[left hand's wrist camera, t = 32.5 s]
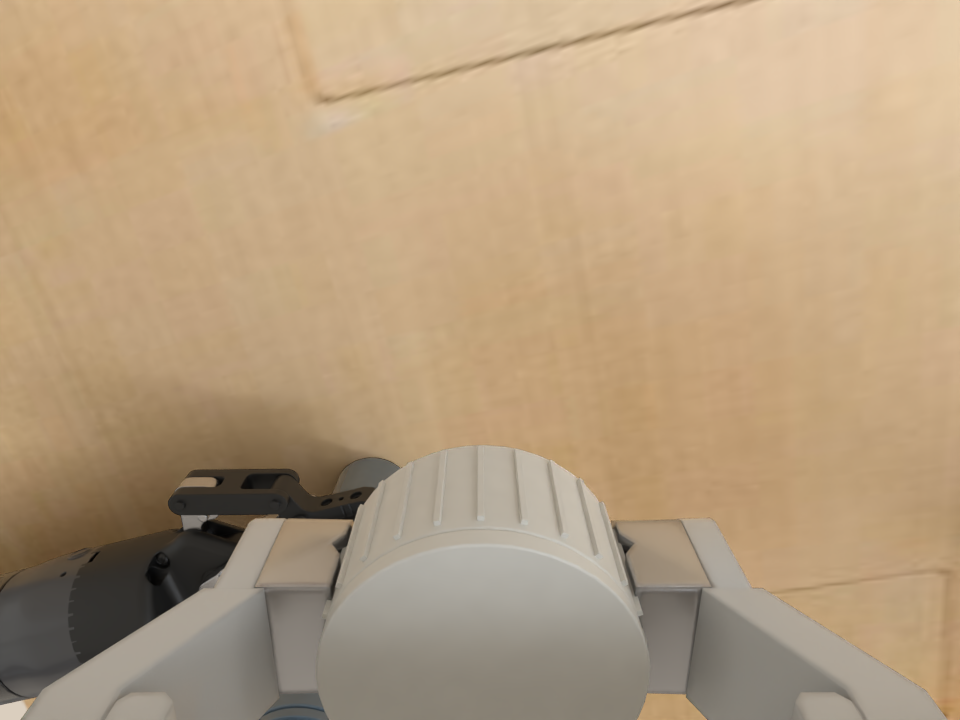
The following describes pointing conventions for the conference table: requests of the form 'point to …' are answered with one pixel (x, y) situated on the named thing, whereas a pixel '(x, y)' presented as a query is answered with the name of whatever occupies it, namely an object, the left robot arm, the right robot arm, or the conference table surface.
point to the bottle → (304, 713)
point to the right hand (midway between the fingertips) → (402, 547)
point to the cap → (482, 598)
